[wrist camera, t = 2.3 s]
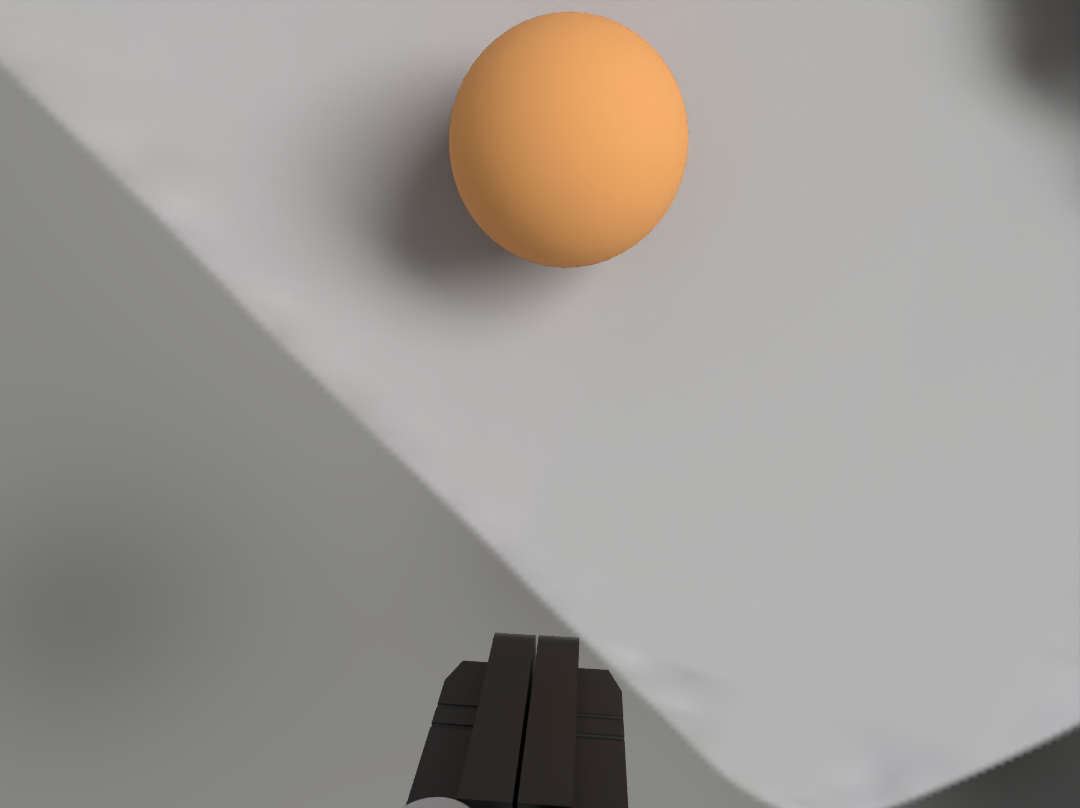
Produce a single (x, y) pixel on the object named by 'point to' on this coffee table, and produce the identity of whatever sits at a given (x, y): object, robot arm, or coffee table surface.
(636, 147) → the ball
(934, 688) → the coffee table surface
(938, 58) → the coffee table surface
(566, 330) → the coffee table surface
